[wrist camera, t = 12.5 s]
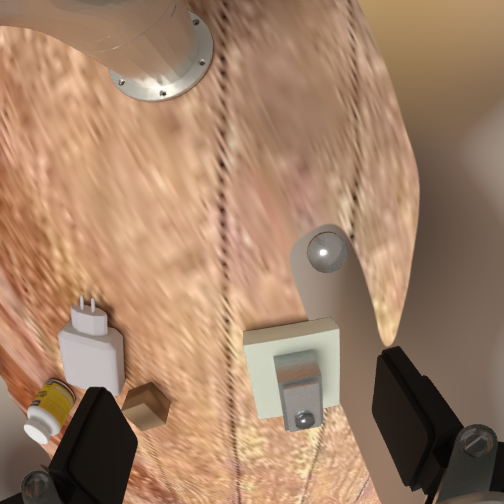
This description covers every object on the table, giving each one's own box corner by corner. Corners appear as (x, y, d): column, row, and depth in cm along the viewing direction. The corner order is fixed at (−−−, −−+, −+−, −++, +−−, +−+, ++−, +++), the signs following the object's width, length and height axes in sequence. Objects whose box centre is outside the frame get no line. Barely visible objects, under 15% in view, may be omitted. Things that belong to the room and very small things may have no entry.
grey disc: (303, 236, 38) (305, 238, 37) (341, 227, 38) (344, 229, 37) (310, 274, 39) (312, 277, 38) (347, 264, 39) (350, 267, 38)
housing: (273, 356, 38) (279, 391, 31) (312, 348, 38) (324, 382, 31) (281, 404, 40) (286, 438, 34) (315, 397, 40) (325, 430, 34)
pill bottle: (60, 374, 43) (32, 419, 32) (82, 401, 45) (60, 447, 34) (40, 380, 43) (12, 421, 32) (61, 406, 45) (38, 448, 34)
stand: (242, 328, 41) (242, 345, 37) (330, 313, 41) (339, 328, 37) (257, 401, 45) (259, 419, 41) (332, 387, 45) (338, 404, 41)
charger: (124, 295, 39) (126, 378, 43) (66, 282, 38) (75, 364, 42) (112, 312, 34) (118, 398, 39) (50, 296, 34) (64, 382, 38)
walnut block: (128, 390, 44) (120, 411, 39) (151, 381, 43) (143, 403, 39) (148, 409, 45) (142, 431, 41) (170, 401, 45) (165, 423, 40)
